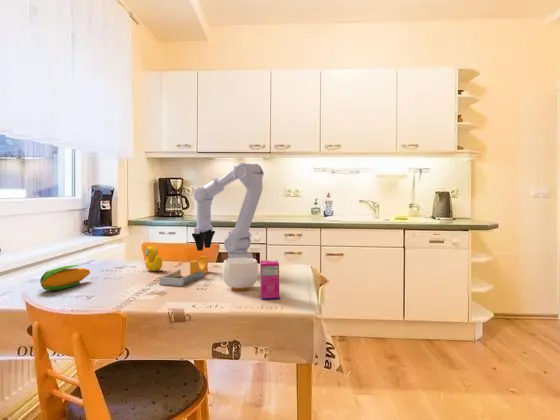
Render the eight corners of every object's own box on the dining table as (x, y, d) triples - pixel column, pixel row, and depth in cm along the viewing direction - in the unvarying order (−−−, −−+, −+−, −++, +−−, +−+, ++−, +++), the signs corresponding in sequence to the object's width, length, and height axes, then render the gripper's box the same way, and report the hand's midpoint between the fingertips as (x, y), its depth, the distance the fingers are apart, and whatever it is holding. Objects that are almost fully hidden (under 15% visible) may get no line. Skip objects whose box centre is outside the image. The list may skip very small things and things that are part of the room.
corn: (33, 269, 135) (80, 259, 154) (32, 292, 135) (80, 279, 154) (50, 272, 132) (97, 261, 151) (50, 296, 133) (96, 282, 152)
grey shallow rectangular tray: (203, 277, 159) (203, 271, 158) (184, 286, 144) (184, 279, 144) (178, 275, 162) (178, 269, 161) (156, 284, 147) (156, 277, 147)
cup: (255, 283, 149) (255, 256, 149) (261, 292, 137) (261, 263, 137) (221, 285, 147) (220, 257, 146) (223, 294, 135) (223, 264, 134)
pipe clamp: (197, 271, 170) (197, 255, 170) (207, 271, 169) (207, 256, 169) (185, 277, 158) (185, 261, 158) (196, 278, 158) (196, 261, 157)
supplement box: (260, 295, 133) (260, 259, 133) (278, 294, 134) (278, 259, 133) (260, 300, 128) (260, 263, 127) (279, 299, 128) (280, 263, 127)
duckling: (139, 269, 172) (139, 245, 172) (151, 267, 176) (151, 244, 176) (154, 273, 165) (153, 248, 164) (165, 271, 169) (165, 247, 168)
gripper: (202, 215, 180) (202, 246, 181) (187, 217, 166) (187, 251, 167) (217, 215, 178) (217, 246, 179) (203, 218, 164) (203, 252, 165)
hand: (203, 249), depth 173 cm, fingers open, 7 cm apart
